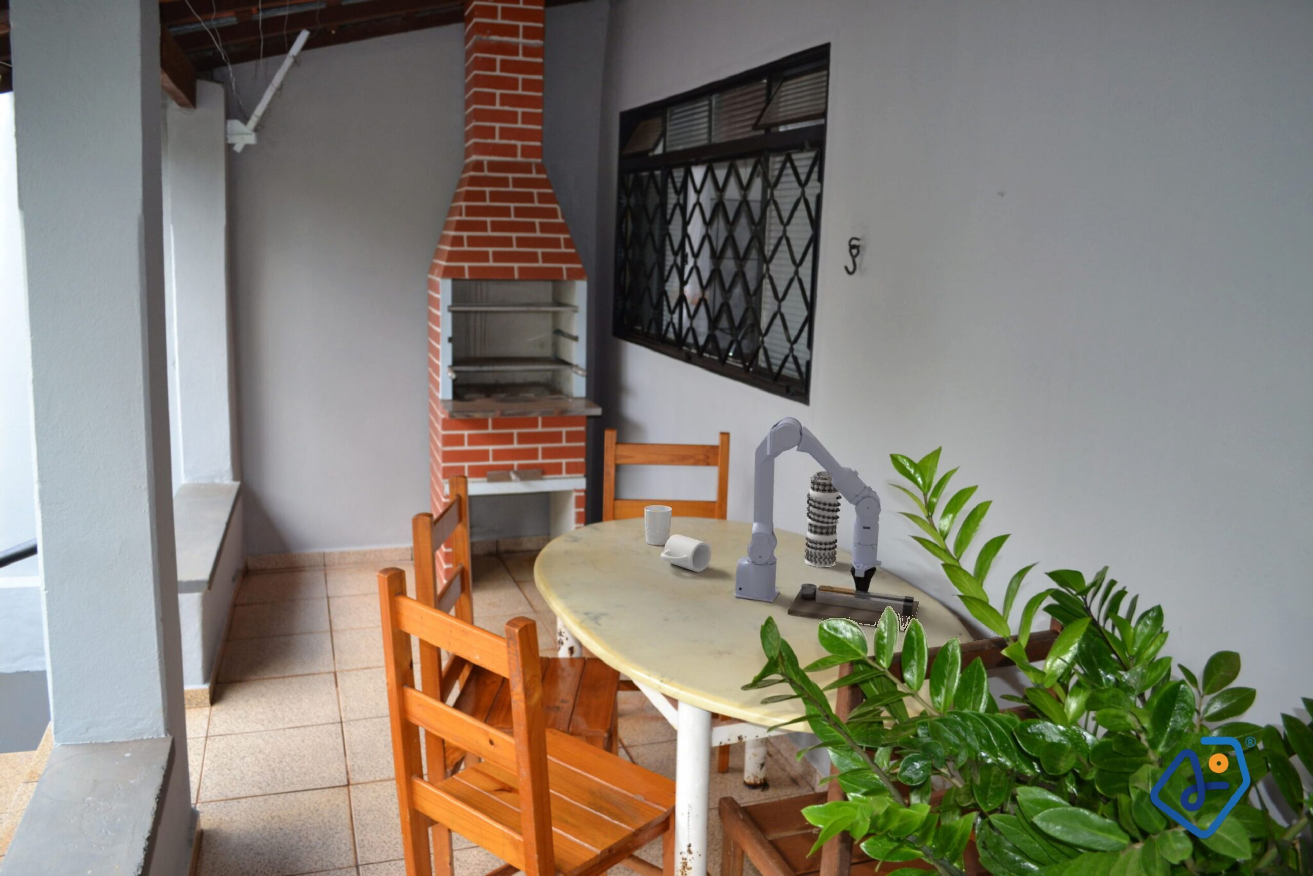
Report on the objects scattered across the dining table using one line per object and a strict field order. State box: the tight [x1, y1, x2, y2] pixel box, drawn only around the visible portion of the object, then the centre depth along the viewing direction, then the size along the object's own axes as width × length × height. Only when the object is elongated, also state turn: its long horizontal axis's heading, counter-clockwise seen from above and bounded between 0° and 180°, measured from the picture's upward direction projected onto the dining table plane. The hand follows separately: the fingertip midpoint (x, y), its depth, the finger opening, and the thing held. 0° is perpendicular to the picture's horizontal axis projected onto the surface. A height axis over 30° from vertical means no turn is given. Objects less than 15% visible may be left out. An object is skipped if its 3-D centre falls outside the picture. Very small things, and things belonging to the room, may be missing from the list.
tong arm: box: [800, 583, 915, 611], centre depth 230 cm, size 26×4×3 cm, turn 72°
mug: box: [660, 533, 712, 573], centre depth 257 cm, size 12×10×8 cm
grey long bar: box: [816, 590, 913, 616], centre depth 228 cm, size 22×2×2 cm, turn 71°
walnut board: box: [787, 587, 920, 632], centre depth 230 cm, size 28×18×1 cm, turn 71°
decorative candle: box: [804, 470, 843, 567], centre depth 263 cm, size 9×9×25 cm
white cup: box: [644, 504, 673, 546], centre depth 279 cm, size 8×8×10 cm
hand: (861, 597), depth 233 cm, fingers closed
